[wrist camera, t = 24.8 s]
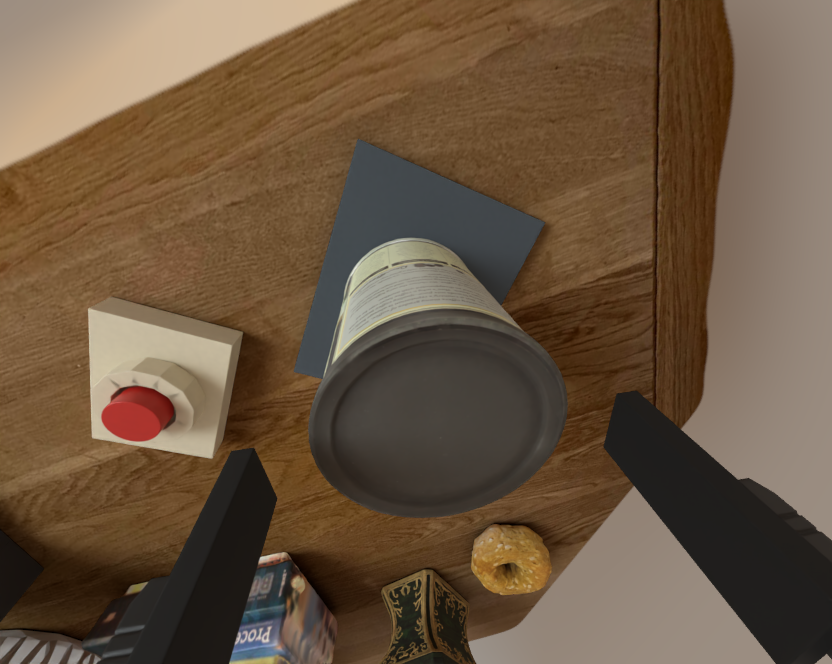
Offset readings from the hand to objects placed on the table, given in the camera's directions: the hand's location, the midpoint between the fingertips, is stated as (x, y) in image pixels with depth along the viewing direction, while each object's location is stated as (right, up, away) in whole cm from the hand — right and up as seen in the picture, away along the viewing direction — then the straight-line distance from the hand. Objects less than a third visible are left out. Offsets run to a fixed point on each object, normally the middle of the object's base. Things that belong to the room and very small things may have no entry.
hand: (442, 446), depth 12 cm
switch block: (-21, 0, +15) cm, 26 cm away
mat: (-1, +7, +14) cm, 16 cm away
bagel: (+10, -24, +31) cm, 40 cm away
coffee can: (-1, +7, +13) cm, 15 cm away
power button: (-21, -1, +12) cm, 24 cm away
